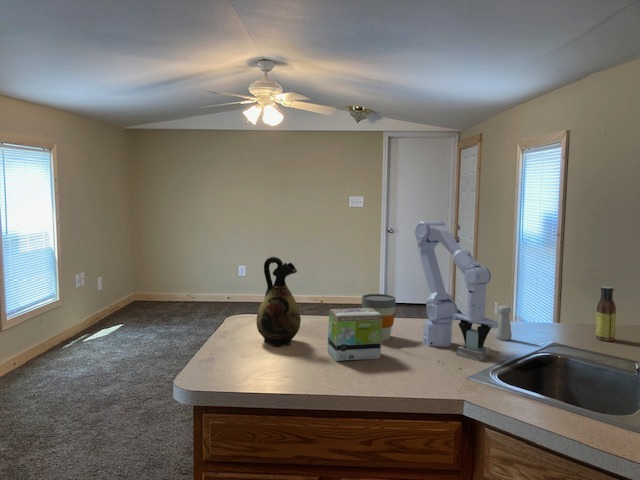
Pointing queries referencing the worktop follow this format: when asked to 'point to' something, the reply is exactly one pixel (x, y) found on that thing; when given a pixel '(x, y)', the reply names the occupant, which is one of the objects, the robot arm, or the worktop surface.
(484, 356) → the board
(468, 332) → the peg
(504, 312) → the salt shaker
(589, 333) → the worktop surface
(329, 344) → the tea box
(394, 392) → the worktop surface
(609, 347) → the worktop surface
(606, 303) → the sauce bottle
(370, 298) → the reusable coffee cup
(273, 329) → the ceramic jug
